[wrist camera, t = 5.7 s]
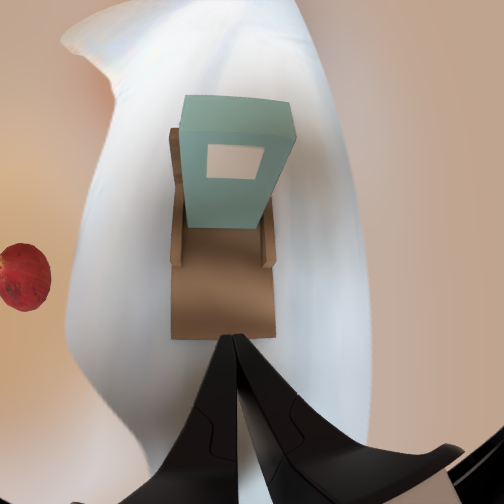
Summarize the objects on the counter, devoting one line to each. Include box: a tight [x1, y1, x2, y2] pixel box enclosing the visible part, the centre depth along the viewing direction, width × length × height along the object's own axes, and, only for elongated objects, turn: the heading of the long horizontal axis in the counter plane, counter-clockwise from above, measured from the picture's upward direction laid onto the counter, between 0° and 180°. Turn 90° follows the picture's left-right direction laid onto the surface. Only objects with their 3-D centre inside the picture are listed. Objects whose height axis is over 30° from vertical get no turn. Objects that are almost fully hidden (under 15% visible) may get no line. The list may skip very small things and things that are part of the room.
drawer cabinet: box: [169, 128, 276, 340], centre depth 20 cm, size 14×9×9 cm, turn 2°
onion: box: [0, 243, 51, 312], centre depth 16 cm, size 6×6×8 cm
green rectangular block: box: [179, 95, 297, 229], centre depth 19 cm, size 3×6×12 cm, turn 93°
